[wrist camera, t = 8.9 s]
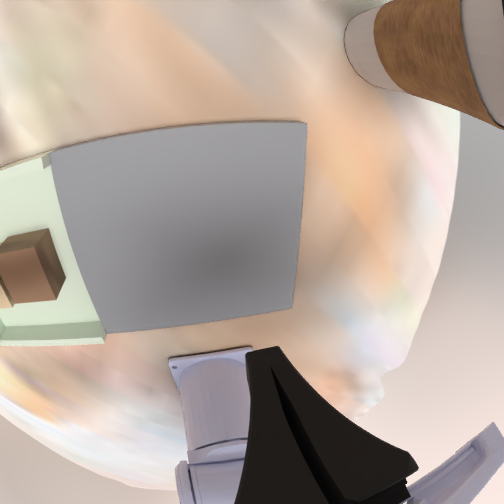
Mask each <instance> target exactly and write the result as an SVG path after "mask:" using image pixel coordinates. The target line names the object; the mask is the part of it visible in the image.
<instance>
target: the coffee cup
mask: <svg viewBox="0 0 504 504" xmlns="http://www.w3.org/2000/svg"><path fill="white" fill-rule="evenodd" d="M344 42H345V49H346V53H347V56H348V59H349V61H350V63H351V65H352V66H353V68H354V69H355V71H356V72H357V73H358V74H359V75H360V76H361V77H362V78H363V79H364V80H365V81H367V82H369V83H370V84H372V85H375V86H377V87H381V88H386V89H391V90H395V91H400V92H404V93H408V94H411V95H414V96H417V97H420V98H424V99H427V100H430V101H433V102H436V103H439V104H442V105H445V106H447V107H450V108H453V109H456V110H458V111H461V112H463V113H466V114H468V115H471V116H473V117H475V118H478V119H480V120H482V121H485V122H487V123H489V124H491V125H493V126H495V127H497V128H499V129H503V130H504V0H393V1H391V2H388V3H386V4H384V5H381V6H379V7H376V8H373V9H371V10H368V11H366V12H363V13H361V14H359V15H357V16H355V17H354V18H353V19H352V20H351V21H350V22H349V24H348V25H347V28H346V31H345V37H344Z"/></svg>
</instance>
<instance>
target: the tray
mask: <svg viewBox="0 0 504 504" xmlns="http://www.w3.org/2000/svg"><path fill="white" fill-rule="evenodd" d="M55 150H56V149H55ZM52 151H54V150H51V151H48V152H44V153H41V154H38V155H35V156H32V157H28V158H25V159H22V160H19V161H17V162H14V163H11V164H8V165H5V166H3V167H0V243H2V242H4V240H5V239H6V238H7V237H9V236H13V235H18V234H22V233H27V232H32V231H36V230H41V229H46V228H49V231H50V234H51V237H52V240H53V243H54V246H55V249H56V252H57V255H58V257H59V260H60V263H61V266H62V268H63V271H64V273H65V276H66V279H65V282H64V284H63V286H62V288H61V291H60V293H59V295H58V298H57V300H52V301H41V302H30V303H19V304H14V306H13V308H3V309H0V346H61V345H84V344H101V343H105V339H106V332H105V330H104V328H103V326H102V323H101V321H100V319H99V317H98V315H97V312H96V310H95V308H94V306H93V303H92V301H91V298H90V296H89V294H88V291H87V289H86V286H85V284H84V281H83V278H82V276H81V273H80V270H79V267H78V265H77V262H76V259H75V256H74V253H73V250H72V247H71V244H70V241H69V238H68V234H67V231H66V228H65V224H64V221H63V217H62V213H61V209H60V206H59V202H58V197H57V193H56V189H55V184H54V180H53V175H52V170H51V164H50V159H49V153H50V152H52Z"/></svg>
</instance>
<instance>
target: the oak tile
mask: <svg viewBox="0 0 504 504" xmlns="http://www.w3.org/2000/svg"><path fill="white" fill-rule="evenodd" d="M2 243H3V242H2ZM2 243H0V245H1V244H2ZM14 304H15V303H14V301H13V300H12V298H11V296H10V294H9V292H8V290H7V288H6V286H5V284H4V282H3V279H2V277H1V275H0V309H3V308H13V306H14Z"/></svg>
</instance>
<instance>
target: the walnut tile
mask: <svg viewBox="0 0 504 504" xmlns="http://www.w3.org/2000/svg"><path fill="white" fill-rule="evenodd" d="M0 275H1V277H2V279H3V282H4V284H5V286H6V288H7V290H8V292H9V294H10V296H11V298H12V300H13V301H14V303H15V304H19V303H30V302H41V301H52V300H57V298H58V295H59V293H60V291H61V288H62V286H63V284H64V282H65V279H66V276H65V273H64V271H63V268H62V266H61V263H60V260H59V257H58V255H57V252H56V249H55V246H54V243H53V240H52V237H51V234H50V231H49V228H46V229H41V230H36V231H32V232H27V233H22V234H18V235H13V236H9V237H7V238H6V239H5V240H4V242H3V243H2V244H1V245H0Z"/></svg>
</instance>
